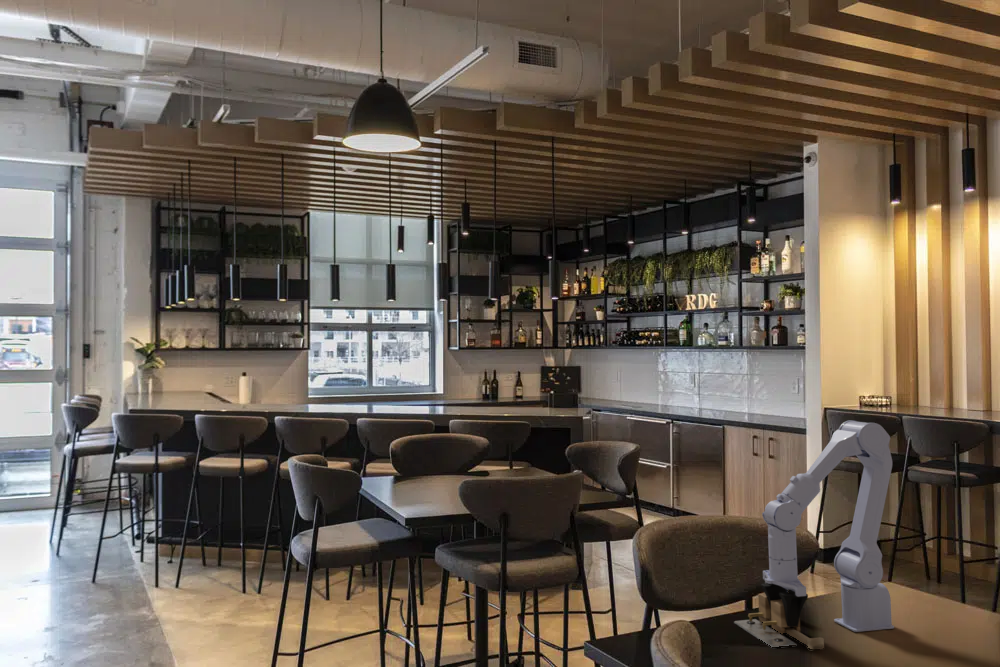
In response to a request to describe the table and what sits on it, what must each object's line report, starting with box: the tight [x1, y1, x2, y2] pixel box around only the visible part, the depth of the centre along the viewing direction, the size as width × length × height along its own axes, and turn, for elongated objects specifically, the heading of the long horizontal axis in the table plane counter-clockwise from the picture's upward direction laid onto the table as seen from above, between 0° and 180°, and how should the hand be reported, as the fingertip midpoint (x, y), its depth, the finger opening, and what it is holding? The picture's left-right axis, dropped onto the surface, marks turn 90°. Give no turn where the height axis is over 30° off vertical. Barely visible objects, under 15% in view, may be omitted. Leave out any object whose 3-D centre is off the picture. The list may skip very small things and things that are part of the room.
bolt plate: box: [733, 618, 797, 648], centre depth 176 cm, size 5×17×1 cm, turn 11°
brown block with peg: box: [763, 600, 801, 635], centre depth 177 cm, size 8×4×6 cm, turn 101°
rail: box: [768, 618, 825, 649], centre depth 176 cm, size 3×22×2 cm, turn 11°
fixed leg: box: [747, 592, 771, 623], centre depth 183 cm, size 8×3×6 cm, turn 101°
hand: (785, 621), depth 177 cm, fingers open, 5 cm apart
